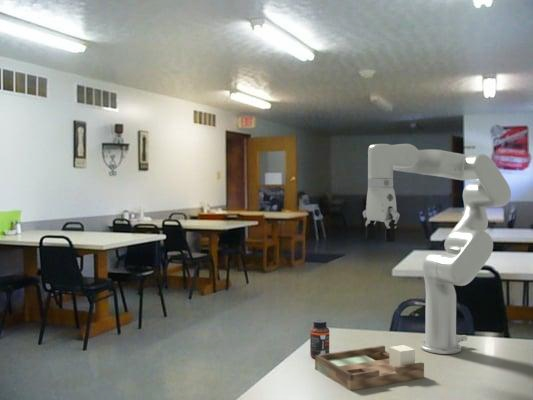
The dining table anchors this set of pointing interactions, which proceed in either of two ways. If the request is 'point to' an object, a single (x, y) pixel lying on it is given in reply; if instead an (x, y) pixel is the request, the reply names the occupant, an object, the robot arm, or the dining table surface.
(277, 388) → the dining table surface
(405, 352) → the block
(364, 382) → the tray
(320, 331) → the supplement bottle
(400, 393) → the dining table surface
